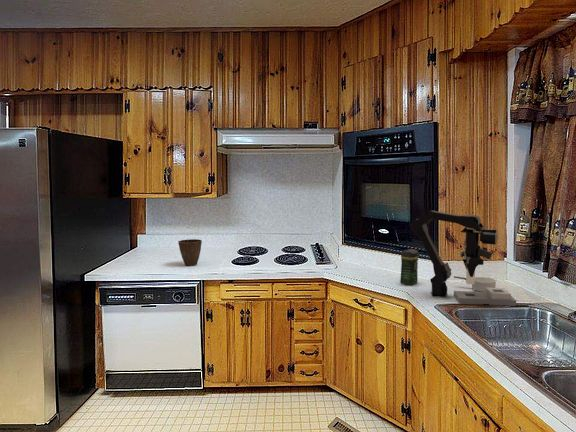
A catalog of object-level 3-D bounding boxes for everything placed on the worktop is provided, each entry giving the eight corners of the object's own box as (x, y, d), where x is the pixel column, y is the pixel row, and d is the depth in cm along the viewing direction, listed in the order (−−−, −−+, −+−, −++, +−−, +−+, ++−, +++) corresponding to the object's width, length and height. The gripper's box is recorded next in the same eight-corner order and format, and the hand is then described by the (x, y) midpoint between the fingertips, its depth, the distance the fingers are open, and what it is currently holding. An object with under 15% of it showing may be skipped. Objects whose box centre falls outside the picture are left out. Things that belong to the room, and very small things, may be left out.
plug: (467, 283, 195) (468, 267, 194) (466, 282, 198) (466, 266, 197) (474, 284, 194) (475, 268, 193) (472, 282, 197) (473, 266, 196)
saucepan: (455, 284, 225) (456, 273, 225) (497, 289, 215) (497, 278, 214) (451, 289, 215) (451, 278, 215) (494, 295, 205) (495, 283, 204)
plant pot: (175, 267, 270) (174, 242, 269) (184, 262, 285) (183, 239, 284) (197, 267, 269) (197, 242, 267) (205, 262, 283) (204, 239, 282)
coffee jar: (412, 286, 220) (413, 251, 219) (398, 284, 225) (399, 249, 224) (419, 282, 228) (420, 248, 226) (405, 280, 233) (406, 247, 231)
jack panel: (458, 303, 192) (459, 292, 191) (453, 295, 204) (454, 285, 203) (516, 306, 187) (516, 295, 187) (507, 298, 199) (507, 287, 198)
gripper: (496, 246, 183) (495, 281, 185) (485, 239, 201) (483, 272, 203) (469, 245, 185) (468, 280, 187) (460, 239, 204) (459, 271, 205)
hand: (470, 275), depth 195 cm, fingers closed on plug, 3 cm apart
